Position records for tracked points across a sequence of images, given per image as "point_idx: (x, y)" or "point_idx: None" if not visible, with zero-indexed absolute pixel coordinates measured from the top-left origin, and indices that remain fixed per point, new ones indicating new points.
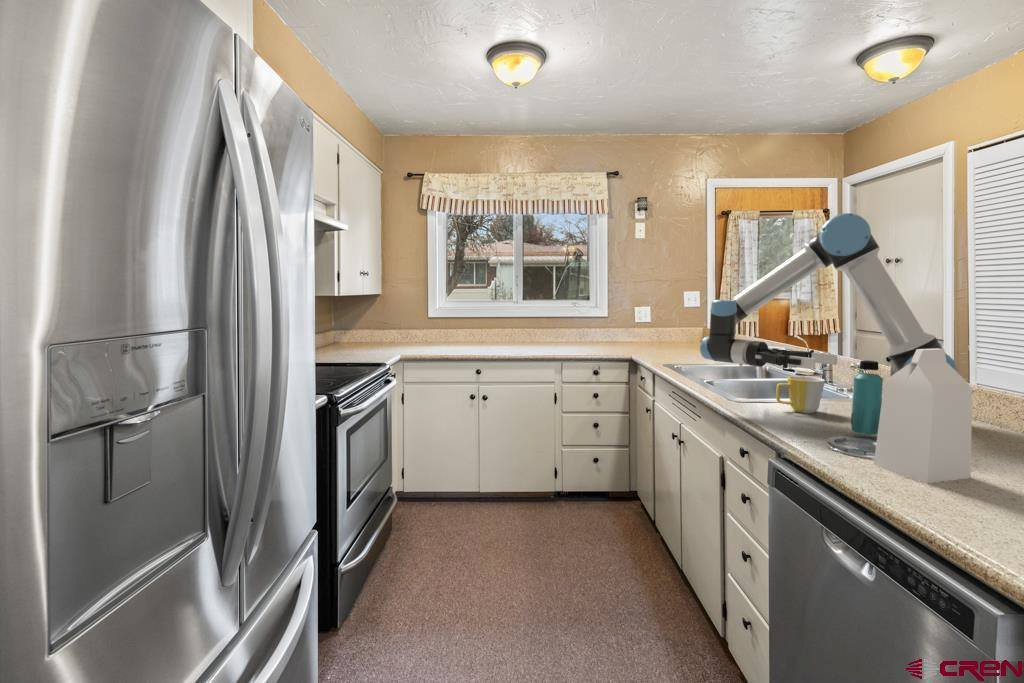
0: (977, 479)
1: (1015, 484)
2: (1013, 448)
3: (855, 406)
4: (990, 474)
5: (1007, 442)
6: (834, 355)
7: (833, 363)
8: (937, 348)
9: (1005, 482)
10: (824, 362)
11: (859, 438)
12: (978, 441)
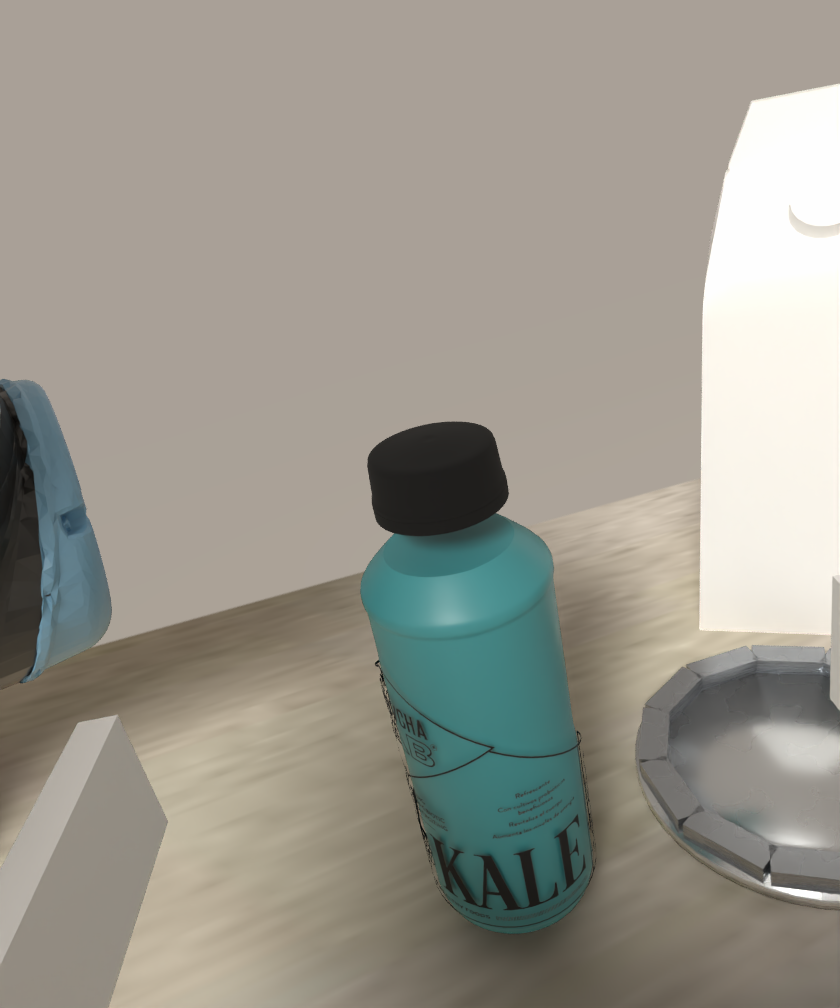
0: (700, 520)
1: (643, 494)
2: (217, 614)
3: (571, 759)
4: (611, 530)
5: (131, 646)
6: (110, 737)
7: (154, 832)
8: (753, 102)
9: (650, 502)
10: (118, 949)
11: (694, 806)
12: (181, 677)
